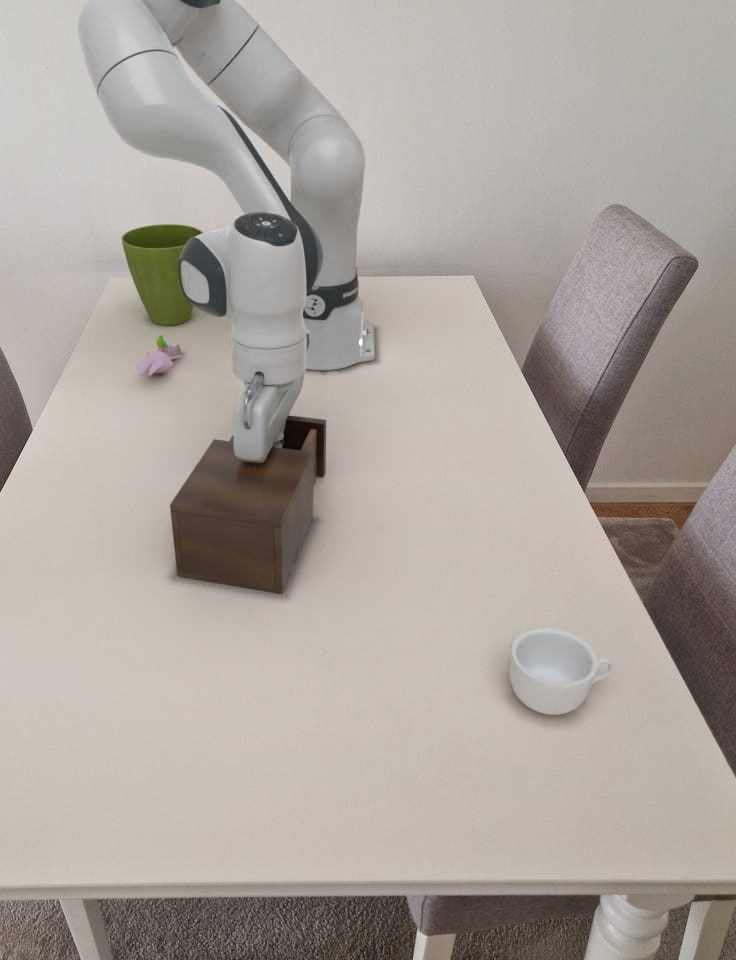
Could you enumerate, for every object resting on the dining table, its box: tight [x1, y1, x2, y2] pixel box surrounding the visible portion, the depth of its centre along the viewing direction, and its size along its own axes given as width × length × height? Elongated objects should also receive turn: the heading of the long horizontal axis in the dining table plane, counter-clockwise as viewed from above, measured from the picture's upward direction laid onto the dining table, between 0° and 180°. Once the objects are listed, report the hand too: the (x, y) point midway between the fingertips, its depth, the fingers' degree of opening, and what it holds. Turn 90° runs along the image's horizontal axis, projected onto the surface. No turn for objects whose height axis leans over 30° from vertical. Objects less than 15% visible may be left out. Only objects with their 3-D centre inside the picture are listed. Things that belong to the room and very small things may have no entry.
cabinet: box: [169, 438, 314, 595], centre depth 99 cm, size 15×13×10 cm
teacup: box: [508, 627, 615, 716], centre depth 80 cm, size 10×8×5 cm
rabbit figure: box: [136, 334, 183, 377], centre depth 142 cm, size 6×6×15 cm
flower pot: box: [120, 223, 204, 326], centre depth 158 cm, size 15×15×16 cm
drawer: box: [228, 414, 327, 488], centre depth 109 cm, size 18×11×8 cm, turn 165°
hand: (271, 455), depth 108 cm, fingers closed on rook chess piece, 3 cm apart
